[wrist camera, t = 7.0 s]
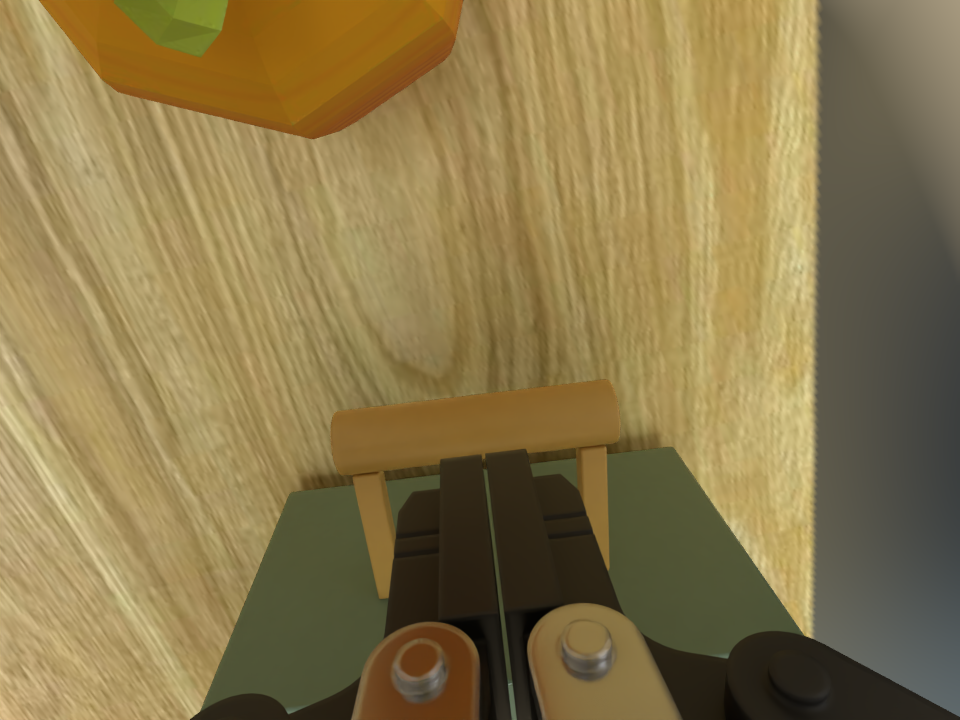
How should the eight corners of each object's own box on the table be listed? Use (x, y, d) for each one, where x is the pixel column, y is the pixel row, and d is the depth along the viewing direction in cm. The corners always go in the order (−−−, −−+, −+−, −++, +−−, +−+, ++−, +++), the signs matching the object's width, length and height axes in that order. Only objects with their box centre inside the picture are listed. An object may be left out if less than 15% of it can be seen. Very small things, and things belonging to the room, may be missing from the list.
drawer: (250, 349, 17) (108, 520, 10) (677, 299, 17) (845, 431, 10) (364, 767, 24) (330, 1045, 17) (665, 729, 24) (760, 989, 17)
